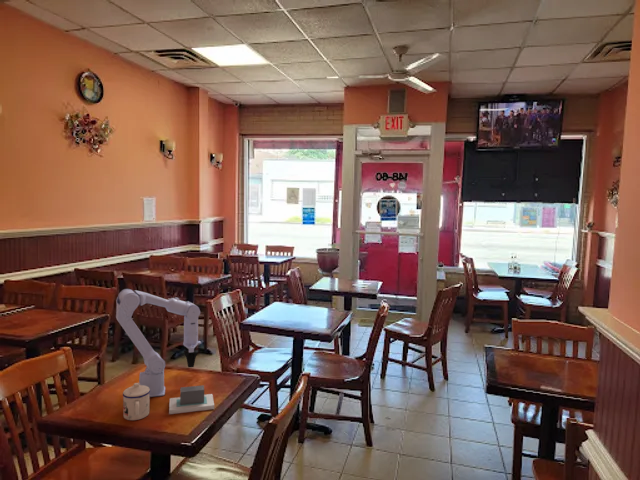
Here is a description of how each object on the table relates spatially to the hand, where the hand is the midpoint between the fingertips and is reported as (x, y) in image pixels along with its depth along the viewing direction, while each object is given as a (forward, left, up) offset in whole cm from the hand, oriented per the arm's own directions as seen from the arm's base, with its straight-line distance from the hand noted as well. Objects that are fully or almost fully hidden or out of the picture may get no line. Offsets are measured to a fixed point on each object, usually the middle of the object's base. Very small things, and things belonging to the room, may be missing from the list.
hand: (190, 363), depth 180 cm
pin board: (0, -19, -9) cm, 21 cm away
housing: (0, -19, -8) cm, 21 cm away
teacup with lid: (-19, -23, -10) cm, 31 cm away
